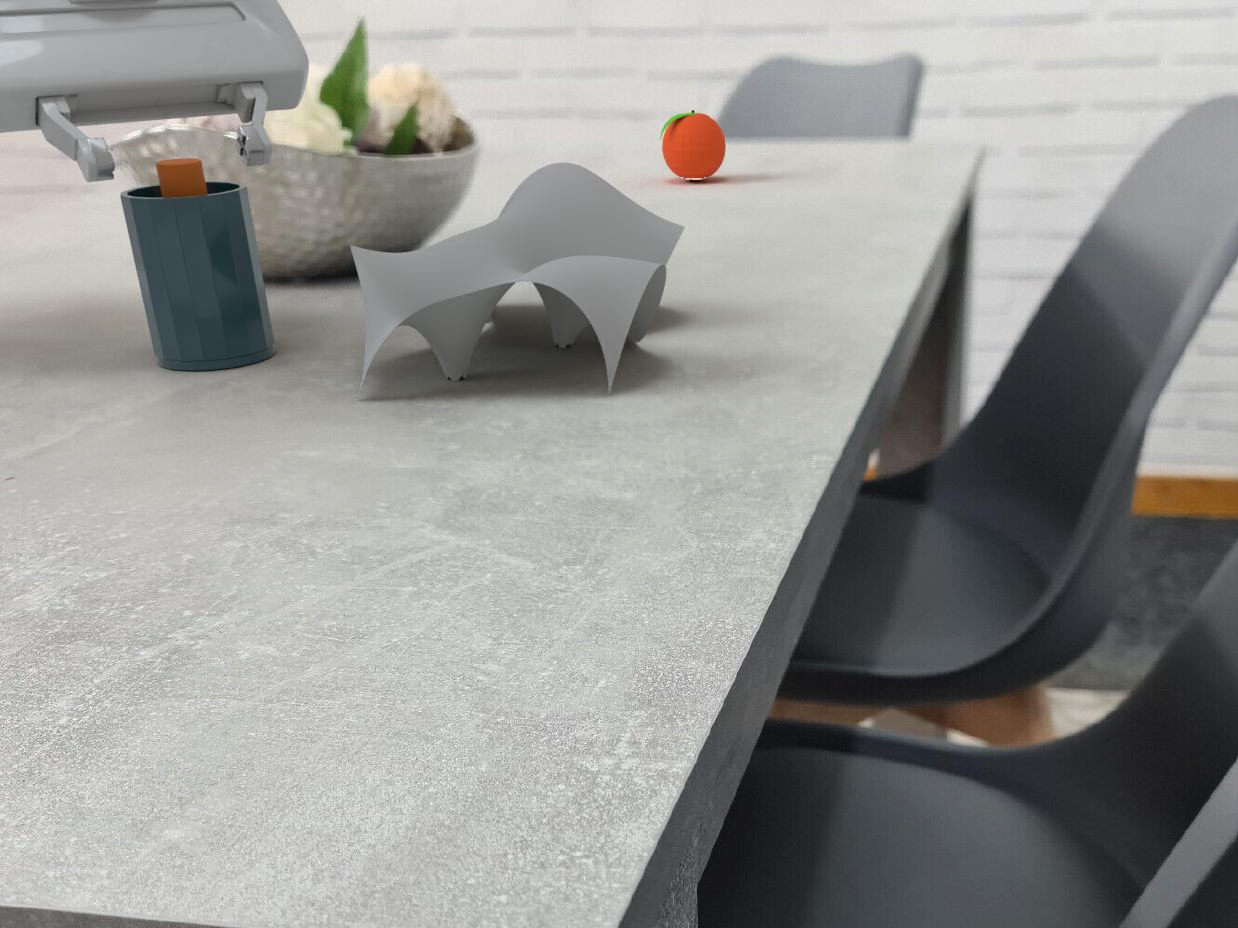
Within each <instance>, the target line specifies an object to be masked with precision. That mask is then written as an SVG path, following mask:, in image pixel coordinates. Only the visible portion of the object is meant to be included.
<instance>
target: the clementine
mask: <svg viewBox="0 0 1238 928" xmlns="http://www.w3.org/2000/svg"><path fill="white" fill-rule="evenodd" d="M660 131H661V133H660V135H659V140H661V139H662V142H661V143H662V145H661V150H662V156H663V159H664V161H665V163H666V166H667V167H668V168H669V170H670V171H671V172H672V173H673V174H674V175H675V176H677V177H678V176H679V177H678V178H680V177H684V178H704V177H708V178H710V177H712V176H713V175H714V174H716V172H718V171H719V170H720V168H721V166H722V165H723V163H724V159H725V157H726V150H727V149H726V148H727V146H726V138H725V135H724V132H723V129H722V128H721V126H720V125H719V124H718V122H717V121H716V120H715V119H713V118H712V117H711V116H710V115H708V114H706V113H700V112H695V110H694V109H692V110H691V112H684V113H678V114H675V115H673V116H672V117H670V118H669V119H668V120H667V121H666V122H665V124H664V125H663V126H662V129H661V130H660ZM662 136H663V137H662ZM709 176H710V177H709Z"/></svg>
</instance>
